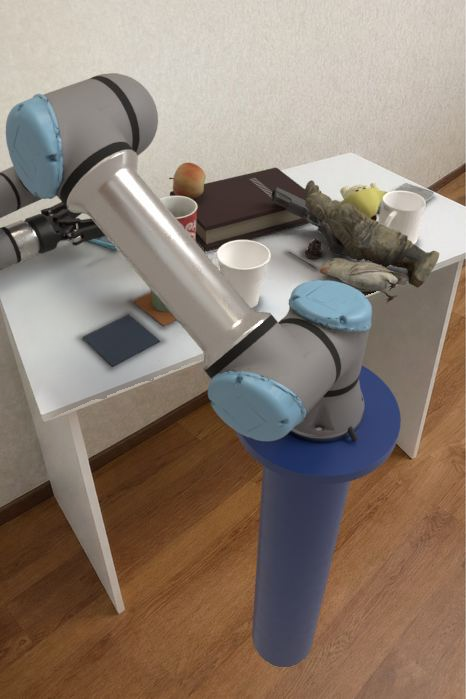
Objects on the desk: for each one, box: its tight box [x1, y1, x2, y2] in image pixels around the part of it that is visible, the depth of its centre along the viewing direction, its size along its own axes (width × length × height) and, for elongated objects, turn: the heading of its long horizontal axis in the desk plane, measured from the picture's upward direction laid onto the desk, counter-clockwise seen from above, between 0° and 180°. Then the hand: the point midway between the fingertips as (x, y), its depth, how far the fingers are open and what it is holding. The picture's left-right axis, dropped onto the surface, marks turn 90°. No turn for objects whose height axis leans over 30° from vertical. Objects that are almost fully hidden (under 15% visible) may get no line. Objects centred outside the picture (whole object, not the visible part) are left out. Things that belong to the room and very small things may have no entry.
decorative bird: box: [319, 257, 409, 305], centre depth 117 cm, size 5×16×7 cm
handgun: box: [271, 187, 348, 258], centre depth 127 cm, size 3×19×12 cm
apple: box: [168, 162, 206, 199], centre depth 130 cm, size 8×8×8 cm
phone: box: [377, 182, 435, 214], centre depth 144 cm, size 8×16×1 cm, turn 140°
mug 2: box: [377, 190, 427, 245], centre depth 128 cm, size 12×9×9 cm
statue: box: [304, 179, 440, 288], centre depth 119 cm, size 11×9×30 cm
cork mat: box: [132, 291, 177, 327], centre depth 114 cm, size 10×10×1 cm
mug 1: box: [159, 195, 198, 243], centre depth 121 cm, size 13×9×14 cm
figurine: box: [288, 237, 323, 269], centre depth 125 cm, size 5×8×4 cm
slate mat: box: [82, 313, 161, 367], centre depth 106 cm, size 10×10×1 cm
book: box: [169, 167, 310, 252], centre depth 137 cm, size 28×20×6 cm
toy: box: [339, 182, 389, 221], centre depth 137 cm, size 13×7×15 cm
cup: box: [215, 239, 272, 310], centre depth 111 cm, size 10×10×11 cm
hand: (126, 201), depth 130 cm, fingers open, 8 cm apart
